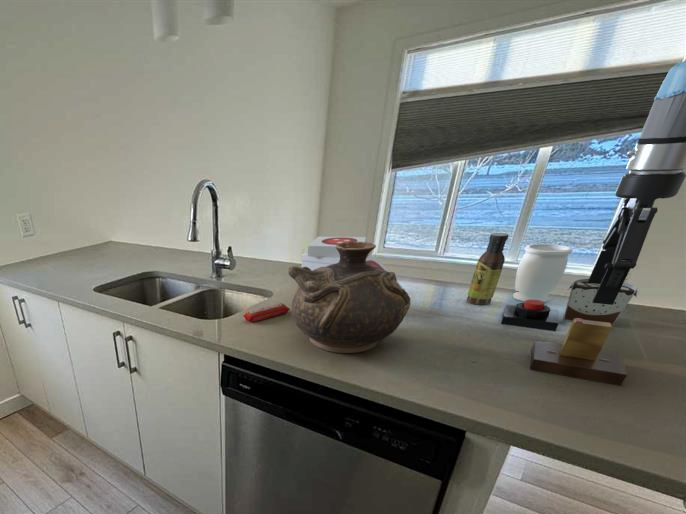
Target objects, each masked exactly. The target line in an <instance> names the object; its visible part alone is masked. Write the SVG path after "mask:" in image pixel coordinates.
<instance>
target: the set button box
mask: <svg viewBox="0 0 686 514" xmlns="http://www.w3.org/2000/svg"><path fill="white" fill-rule="evenodd" d="M524 303H525V302H519V303H517V304H516V305H512V304H511V305H510V304H505V307H504V310H503V313H502V318H501V321H500V325H504V326H513V327H520V328H528V329H536V330H541V331H542V330H544V331H550V332H556V331H557V328H558V326H559V310H556V309H551V307H550V306H548V305H546V304H545V305H544V307H543V310H531V309H526V308H524V307H523V306H524Z"/></svg>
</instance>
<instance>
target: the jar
mask: <svg viewBox="0 0 686 514" xmlns="http://www.w3.org/2000/svg"><path fill="white" fill-rule="evenodd" d="M523 250H524V252H525V253H524V254H523V256H522V257H521V259H520V261H519V263H518V266H517V270H516V274H515V280H514V281H515V282H514V288H515V289H514V290H515V292H514V293H513V294H512V297H513V299H515V300H517V301H519V302H523V303H525V301H526V300H540V301H543V302H545V303H546V302H548V301H549V295H550V294H551V293H552V292H553V291H554V290H555V288H556V287H557V285H558V284H559V282H560V280H561V279H562V278H563V276H564V273H565V271H566V269H567V265H568V261H569V255H571V254H572V253H573V250H574V248H573V247H572V246H568V245H563V244H554V243H532V244H531V243H530V244H527V245H525V246H524V249H523ZM516 291H519V292H516Z"/></svg>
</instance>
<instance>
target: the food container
mask: <svg viewBox="0 0 686 514" xmlns="http://www.w3.org/2000/svg"><path fill="white" fill-rule="evenodd" d="M588 280H589V278H581V279H576V280H574V281H573V282H572V283H571V284H570V285H569V287H568V288H567V291H569V290H570V292H569V295H568V300H567V304H566V307H565V310H564V314H563V319H562V321H567V322H568V321H569V322H573V320H574V319H575V318H581V319H582V320H590V321H599V322H607V323H611V326H612V328H613V327H614V325H615V324H616V322H617V320H618V319H619V318H620V316H621V315H622V314H623V312H624V311H625V308H627V306H628V304H629V303H630V301H631V300H632V298H633V297H635V298H637V297H638V293H639V291H638V287H637V286H636V285H634V284H631V283H628V282H625V281H624V283H623V285H622V287H621V289H620V291H619V293H618V295H617V297H616V299H615V301H614V303H613V305H608V304H599V303H592V301H593V299H594V297H595V295H596V292H597V290H598V288H599V286H600V284H593V283H588Z"/></svg>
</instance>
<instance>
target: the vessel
mask: <svg viewBox="0 0 686 514" xmlns="http://www.w3.org/2000/svg"><path fill="white" fill-rule="evenodd" d="M335 247H336V249H337V250H338V252H339V254H340V260H339V262H338V263H336V264H332V265H329V266H326V267H320V268H317V269H315V270H313V271H312V270H311V269H310V268H308V267H302V266H301V267H299V266H297V265H296V266H295V265H292V266H290V267H289V268H288V269H287V274H288V275H289V277H291V278H292V279H293V280H294V281H295V282H296V283H297V288H296V290H295V292H294V295H293V298H292V301H291V314H292V317H293V321H294V323H295V325H296V326H297V328H298V329H299V331H301V332H302V334H304V335H305V336H306V337H308V338H309V341H310V343H312V345H314V346H315V347H318V348H319V349H322V350H323V351H327V352H332V353H336V354H337V353H338V354H355V353H361V352H366V351H369V350H371V349H373V348H375V346H376V345H377V343H379V342H380V341H382V340H384V339H386V338H388V336H390V335H392V334H393V333H394V332H395V331H396V330H397V329H398V328H399V326H400V325H401V324H402V322H403V321H404V319H405V316H406V315H407V313H408V311H409V310H410V306H411V297H410V295H409V293H408V292H407V291H406V289H405V288H404V289H405V290H404V289H402V288H401V287H400V286H399V284H400V283H399V282H398V283H399V284H398V283H397V281H398V280H397V276H396V273H395V272H394V271H389V272H387V271H385V270H383V269H380V268H378V267H373V266H371V265H368V264H366V258H367V256H368V254H369V255H370V253H371V252H372V251H373V250H375V249H376V248H377V245H376V244H375V243H372V242H368V241H365V242H344V243H339V244H337V245H336V246H335Z"/></svg>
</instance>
